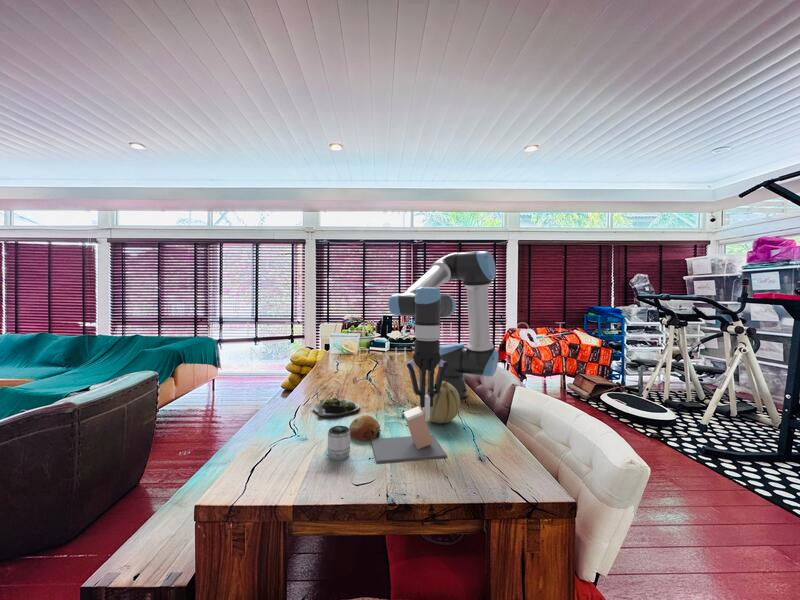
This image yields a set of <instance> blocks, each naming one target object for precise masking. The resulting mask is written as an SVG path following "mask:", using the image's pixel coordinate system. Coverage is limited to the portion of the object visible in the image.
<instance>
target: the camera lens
mask: <svg viewBox="0 0 800 600" xmlns="http://www.w3.org/2000/svg"><path fill="white" fill-rule="evenodd" d="M350 451H351V436H350V429H349V427H348V426H344V425H336V426H331V427H330V428H329V429H328V431H327V454H328V458H329V459H330V460H332V461H333V460H334V461H343V460H346V459H347V458H348V457H349V456H350Z"/></svg>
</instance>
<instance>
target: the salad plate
mask: <svg viewBox="0 0 800 600" xmlns="http://www.w3.org/2000/svg"><path fill="white" fill-rule="evenodd" d="M360 408H361V405H359V404H357V403H355V402H353V401H351V400H349V399H344V398H343V399H340V398H336V397H332V398H325V399H320V400H319V403H316V404H314V405H313V406H312V410H313V411H314V412H315V413H317V414H318V416H321V417H323V418H325V419H338V418H344V417H348V416H352V415H355V414H357V413H358V412H359V411H360V410H361V409H360Z"/></svg>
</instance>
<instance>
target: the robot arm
mask: <svg viewBox="0 0 800 600" xmlns="http://www.w3.org/2000/svg"><path fill="white" fill-rule="evenodd" d="M496 271H497V270H496V263H495V259H494V257H493V254H492V253H491V252H490V251H487V250H486V251H483V250H482V251H481V250H478V251H477V250H475V251H474V250H473V251H465V252H464V251H463V252H462V251H461V252H459V251H458V252H457V251H456V252H452V253H449V254H446V255H444V256H442V257H440V258H438V259H437V260H436V261H434V262H433V263H432V264H431V265H430V267H429V269H428V271H427V272H425V273H424V274H423V275H422V276H421V277H420V278H419V279H418V280H416V281H415V282H414V283H413V284H411V286H409V287H408V288H407V289H406V290H405V291H403V292H402V293H399V292H398V293H393V294H392V295H390V296H389V299H388V310H389V312H390V314H392V315H394V316H400V317H405V316H406V317H414V338H415V340H414V354H413V356H412V359H411V360H409V361H407V362H405V364H404V365H405V366H406V367H407V369H408V372H409V373H408V374H409V376H410V382H411V385H412V390H413V393H414V394H415V395H416V396H419V407H420V406H421V407H423V414H424V417H425V420H429V419H430V407H433V397H434V395H435V394H439V392H440V388H441V384H442V381H445V382H448V383H450V384H451V385H452V386H453V387H454V388H455V389H456V390H457V392H458V394H459V396H460V398H462V399H464V398H463V397H465V396H467V397H468V388H467V385H466V382H465V377H464V376H465V375H472V376H477V377H489V378H490V377H491V378H492V377H493V376H494V375H495V373H496V371H497V367H498V365H499V351H498V350H497V349H495V346H494V344H493V342H491V340H490V339H491V337H490V336H491V335H490V313H489V312H490V311H489V309H490V308H489V287H490V286H491V284H492V280H495V278H496ZM453 280H454V281H462V285H463V286H464V287H465V288H466V297H467V313H468V317H467V318H468V335H469V338H468V339H469V342H468V343H467V344H466V345H465V344H464V343H460V342H459V343H447V344H442V345H441V341H440V338H441V318H447V317H450V316H452V315H453V314H454V312H455V311H456V308H457V302H456V300H455V297H453V296H451V295H450V294H446V293H441V289H440V287H441V285H443V284H446V283H447V282H449V281H453ZM415 365H416V366H417V368H418V371H419V372H418V373H419V386H418V381H417V380H418V379H417V376H416V371H415V369H414V368H415ZM437 366H438V367H437ZM436 368H437V373H436V376H435V369H436ZM426 375H427V385H428V395H425V387H426ZM435 377H436V378H435ZM434 381H435V385H434ZM465 398H466V397H465ZM421 407H420V408H421Z"/></svg>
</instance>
